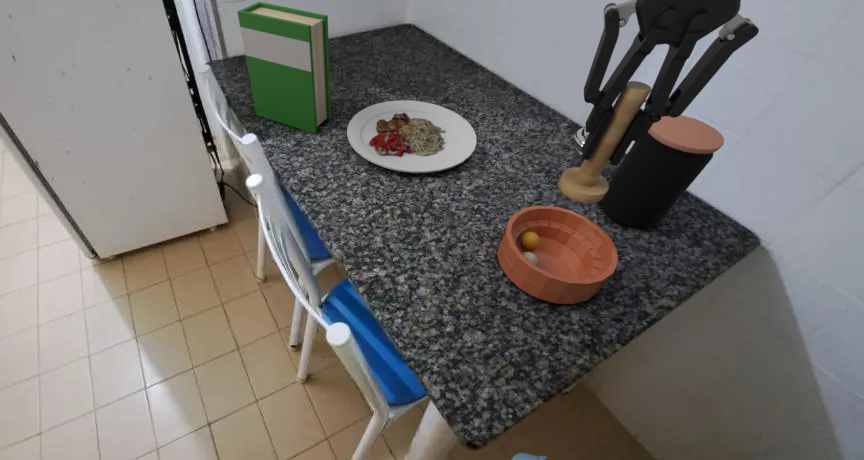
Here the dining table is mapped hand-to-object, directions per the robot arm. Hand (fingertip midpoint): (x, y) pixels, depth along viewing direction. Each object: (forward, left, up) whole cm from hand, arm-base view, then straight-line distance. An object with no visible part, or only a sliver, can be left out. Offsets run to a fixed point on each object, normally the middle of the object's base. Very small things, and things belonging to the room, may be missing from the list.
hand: (599, 156), depth 50 cm
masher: (0, 0, -6) cm, 6 cm away
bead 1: (+3, +2, -20) cm, 20 cm away
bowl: (0, -1, -22) cm, 22 cm away
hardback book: (+26, +61, -22) cm, 70 cm away
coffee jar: (+20, -15, -22) cm, 34 cm away
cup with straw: (+26, -6, -22) cm, 35 cm away
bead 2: (-2, +2, -20) cm, 20 cm away
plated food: (+28, +31, -22) cm, 47 cm away
